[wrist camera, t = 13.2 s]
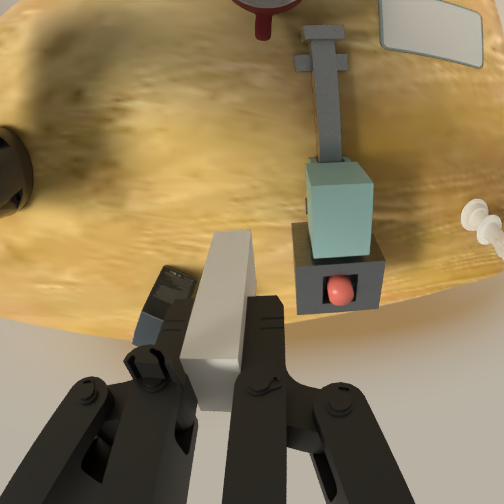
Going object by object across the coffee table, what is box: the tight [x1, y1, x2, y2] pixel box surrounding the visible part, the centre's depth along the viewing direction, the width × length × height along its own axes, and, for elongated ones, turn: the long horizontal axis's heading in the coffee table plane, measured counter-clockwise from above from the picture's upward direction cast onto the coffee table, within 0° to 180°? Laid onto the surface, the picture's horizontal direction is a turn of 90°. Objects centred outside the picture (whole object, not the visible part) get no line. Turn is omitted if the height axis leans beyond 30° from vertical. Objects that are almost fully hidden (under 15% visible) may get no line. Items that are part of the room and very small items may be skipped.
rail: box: [294, 25, 348, 214], centre depth 34 cm, size 6×24×5 cm, turn 7°
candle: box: [461, 199, 504, 260], centre depth 35 cm, size 5×5×12 cm
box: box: [131, 266, 197, 347], centre depth 46 cm, size 8×6×11 cm
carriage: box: [305, 156, 374, 259], centre depth 35 cm, size 6×8×9 cm
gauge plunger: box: [326, 275, 354, 306], centre depth 36 cm, size 3×3×4 cm
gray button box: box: [291, 222, 385, 315], centre depth 40 cm, size 10×7×10 cm
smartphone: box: [378, 0, 483, 68], centre depth 27 cm, size 8×1×15 cm
